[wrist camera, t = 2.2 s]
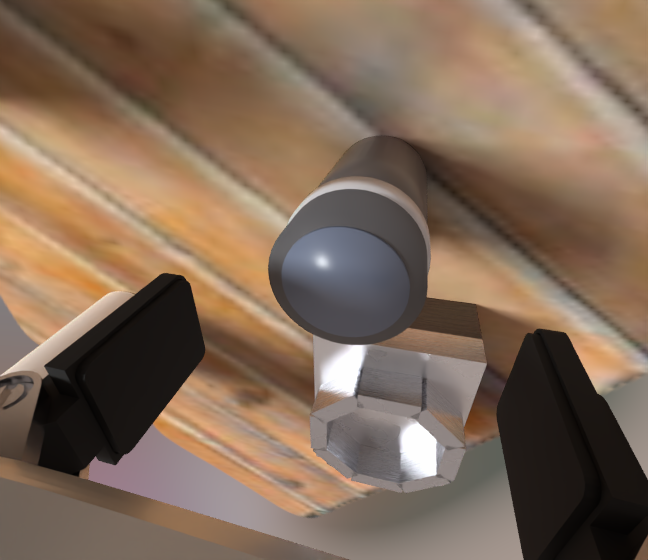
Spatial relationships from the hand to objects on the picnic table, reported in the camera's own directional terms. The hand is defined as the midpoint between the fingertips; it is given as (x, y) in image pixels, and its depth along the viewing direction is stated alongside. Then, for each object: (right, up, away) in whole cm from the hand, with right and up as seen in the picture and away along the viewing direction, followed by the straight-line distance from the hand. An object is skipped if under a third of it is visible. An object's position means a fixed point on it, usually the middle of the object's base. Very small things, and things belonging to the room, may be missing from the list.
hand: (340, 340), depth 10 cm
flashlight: (+3, +7, +9) cm, 12 cm away
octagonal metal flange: (+4, -4, +16) cm, 17 cm away
